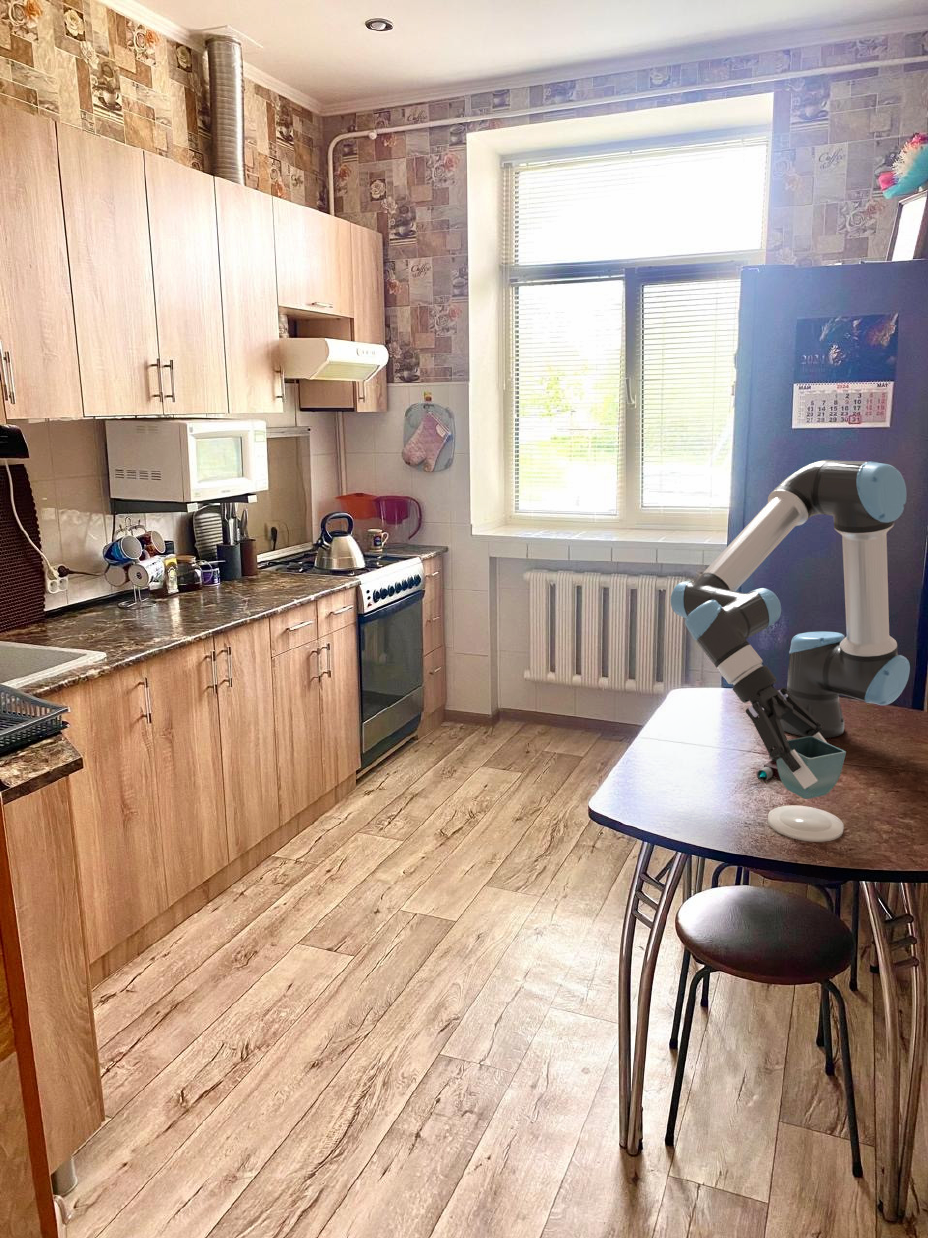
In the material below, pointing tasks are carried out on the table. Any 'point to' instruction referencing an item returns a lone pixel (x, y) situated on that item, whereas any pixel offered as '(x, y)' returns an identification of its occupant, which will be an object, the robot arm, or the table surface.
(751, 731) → the table surface
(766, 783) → the table surface
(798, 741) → the flower pot
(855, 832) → the table surface
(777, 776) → the toy gun
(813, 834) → the saucer
